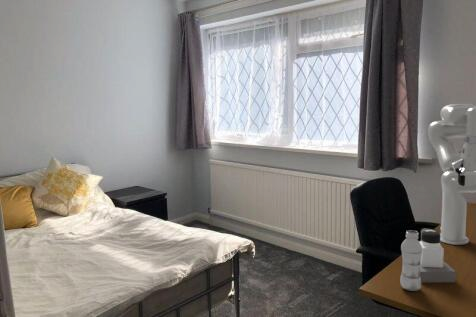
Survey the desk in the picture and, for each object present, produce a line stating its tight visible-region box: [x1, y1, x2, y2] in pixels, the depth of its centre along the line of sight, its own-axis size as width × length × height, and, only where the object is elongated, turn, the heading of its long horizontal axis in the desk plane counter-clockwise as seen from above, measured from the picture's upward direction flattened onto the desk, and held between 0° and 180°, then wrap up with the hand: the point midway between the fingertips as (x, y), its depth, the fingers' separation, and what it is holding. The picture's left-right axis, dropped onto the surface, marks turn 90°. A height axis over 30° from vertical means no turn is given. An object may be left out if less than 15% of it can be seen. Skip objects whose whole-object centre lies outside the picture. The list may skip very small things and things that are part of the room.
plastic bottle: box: [399, 229, 423, 292], centre depth 130 cm, size 6×7×20 cm
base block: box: [420, 261, 457, 283], centre depth 141 cm, size 13×12×4 cm
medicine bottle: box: [418, 229, 445, 268], centre depth 140 cm, size 7×7×12 cm
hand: (474, 184), depth 148 cm, fingers open, 9 cm apart
